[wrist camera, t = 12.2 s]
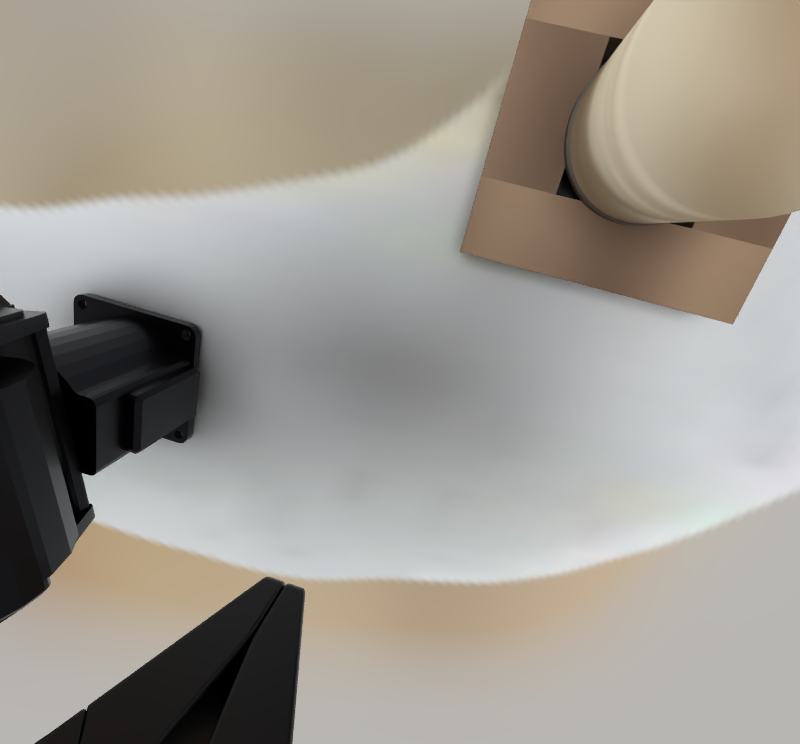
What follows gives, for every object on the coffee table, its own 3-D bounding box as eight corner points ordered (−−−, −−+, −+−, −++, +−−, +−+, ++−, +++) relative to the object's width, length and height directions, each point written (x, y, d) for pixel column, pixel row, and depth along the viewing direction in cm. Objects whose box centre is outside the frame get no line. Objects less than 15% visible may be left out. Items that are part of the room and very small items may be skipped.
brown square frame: (462, 248, 18) (459, 251, 15) (541, -29, 15) (556, -89, 12) (691, 309, 17) (732, 324, 14) (825, 31, 14) (912, -19, 11)
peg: (530, 208, 17) (582, 186, 9) (578, 59, 15) (702, -150, 7) (659, 241, 17) (846, 251, 8) (724, 91, 15) (1044, -88, 7)
